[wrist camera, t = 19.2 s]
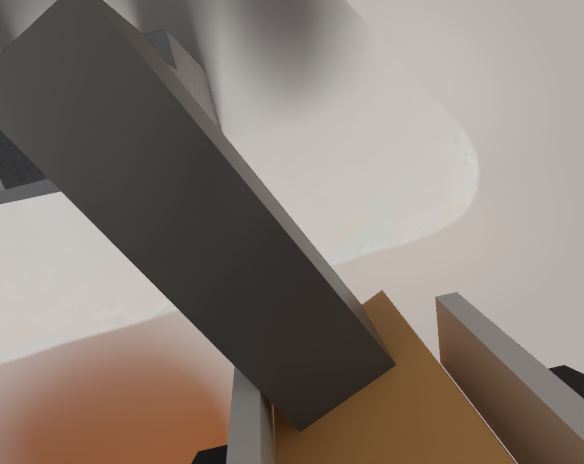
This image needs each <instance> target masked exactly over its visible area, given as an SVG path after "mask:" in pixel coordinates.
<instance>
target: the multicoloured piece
mask: <svg viewBox="0 0 584 464" xmlns="http://www.w3.org/2000/svg"><path fill="white" fill-rule="evenodd" d="M0 130H1V131H2V132H3V133H4V134H5V135H6V136H7V137H8V138H9V139H10V140H11V141H12V142H13V143H14V144H15V145H16V146H17V147H18V148H19V149H20V150H21V151H22V152H23V153H24V154H25V155H26V156H27V157H28V158H29V159H30V160H31V161H32V162H33V163H34V164H35V165H36V166H37V167H38V168H39V169H40V170H41V171H42V172H43V173H44V174H45V175H46V176H47V177H48V178H49V179H50V180H51V181H52V182H53V183H54V184H55V185H56V186H57V187H58V188H59V189H60V190H61V191H62V192H63V193H64V194H65V195H66V197H67V198H68V199H69V200H70V201H71V202H72V203H73V204H74V205H75V206H76V207H77V208H78V209H79V210H80V211H81V212H82V213H83V214H84V215H85V216H86V217H87V218H88V219H89V220H90V221H91V222H92V223H93V224H94V225H95V226H96V227H97V228H98V229H99V230H100V231H101V232H102V233H103V234H104V235H105V236H106V237H107V238H108V239H109V240H110V241H111V242H112V243H113V244H114V245H115V246H116V247H117V248H118V249H119V250H120V251H121V252H122V253H123V254H124V255H125V256H126V257H127V258H128V259H129V260H130V261H131V262H132V263H133V264H134V265H135V266H136V267H137V268H138V269H139V270H140V271H141V272H142V273H143V274H144V275H145V276H146V277H147V278H148V279H149V280H150V281H151V282H152V283H153V284H154V285H155V286H156V287H157V288H158V289H159V290H160V291H161V292H162V293H163V294H164V295H165V296H166V297H167V298H168V299H169V300H170V301H171V302H172V303H173V304H174V305H175V306H176V307H177V308H178V309H179V310H180V311H181V312H182V313H183V314H184V315H185V316H186V317H187V318H188V319H189V320H190V321H191V322H192V323H193V324H194V325H195V326H196V327H197V328H198V329H199V330H200V331H201V332H202V333H203V334H204V336H205V337H207V339H209V340H210V342H211V343H213V345H214V346H215V347H216V348H217V349H219V351H220V352H222V354H223V355H224V356H225V357H226V358H227V359H229V360H230V362H232V363H233V365H234V366H235V367H236V368H237V369H238V370H239V371H240V372H241V373H242V374H243V375H244V376H245V377H246V378H247V379H248V380H249V381H250V382H251V383H252V384H253V385H254V386H255V387H256V388H257V389H258V390H259V391H260V392H261V393H262V394H263V395H264V396H265V397H266V398H267V399H268V400H269V401H270V402H271V403H272V404H273V410H274V442H275V464H516V462H515V461H514V460H513V458H512V457H511V456H510V454H509V453H508V452H507V451H506V449H505V448H504V447H503V445H502V444H501V443H500V442H499V440H498V439H497V438H496V436H495V435H494V434H493V433H492V431H491V430H490V428H489V427H488V426H487V425H486V424H485V422H484V421H483V419H482V418H481V417H480V415H479V414H478V413H477V412H476V410H475V409H474V408H473V406H472V405H471V404H470V403H469V401H468V400H467V399H466V397H465V396H464V395H463V393H462V392H461V391H460V390H459V388H458V387H457V386H456V384H455V383H454V382H453V380H452V379H451V378H450V377H449V375H448V374H447V373H446V371H445V370H444V369H443V368H442V366H441V365H440V364H439V362H438V361H437V360H436V359H435V357H434V356H433V355H432V353H431V352H430V351H429V350H428V348H427V347H426V346H425V345H424V343H423V342H422V341H421V339H420V338H419V337H418V335H417V334H416V333H415V332H414V330H413V329H412V328H411V327H410V325H409V324H408V323H407V321H406V320H405V319H404V318H403V316H402V315H401V314H400V312H399V311H398V310H397V309H396V307H395V306H394V305H393V303H392V302H391V301H390V300H389V298H388V297H387V296H386V294H385V293H384V292H383V291H380V292H379V293H378V294H376V295H375V296H373V297H372V298H371V299H369V300H368V301H367V302H365V303H364V304H362V305H361V304H360V302H359V301H358V300H357V299H356V297H355V296H354V295H353V294H352V292H351V291H350V290H349V289H348V287H347V286H346V285H345V284H344V283H343V281H342V280H341V279H340V278H339V276H338V275H337V274H336V273H335V271H334V270H333V269H332V268H331V266H330V265H329V264H328V263H327V262H326V260H325V259H324V258H323V257H322V255H321V254H320V253H319V252H318V250H317V249H316V248H315V247H314V245H313V244H312V243H311V242H310V241H309V239H308V238H307V237H306V236H305V234H304V233H303V232H302V231H301V229H300V228H299V227H298V226H297V224H296V223H295V222H294V221H293V220H292V218H291V217H290V216H289V215H288V213H287V212H286V211H285V210H284V208H283V207H282V206H281V205H280V203H279V202H278V201H277V200H276V199H275V197H274V196H273V195H272V194H271V192H270V191H269V190H268V189H267V187H266V186H265V185H264V184H263V183H262V181H261V180H260V179H259V178H258V176H257V175H256V174H255V173H254V171H253V170H252V169H251V168H250V166H249V165H248V164H247V163H246V162H245V160H244V159H243V158H242V157H241V155H240V154H239V153H238V152H237V150H236V149H235V148H234V147H233V145H232V144H231V143H230V142H229V141H228V139H227V138H226V137H225V136H224V134H223V133H222V132H221V131H220V129H219V128H218V127H217V126H216V124H215V123H214V122H213V121H212V120H211V118H210V117H209V116H208V115H207V113H206V112H205V111H204V110H203V108H202V107H201V106H200V105H199V103H198V102H197V101H196V100H195V99H194V97H193V96H192V95H191V94H190V92H189V91H188V90H187V89H186V87H185V86H184V85H183V84H182V82H181V81H180V80H179V79H178V78H177V76H176V75H175V74H174V73H173V71H172V70H171V69H170V68H169V66H168V65H167V64H166V63H165V61H164V60H163V59H162V58H161V57H160V55H159V54H158V53H157V52H156V50H155V49H154V48H153V47H152V45H151V44H150V43H149V42H148V40H147V39H146V38H145V37H144V36H143V34H142V33H141V32H140V31H139V30H138V29H136V28H135V27H134V26H133V25H132V24H130V23H129V22H128V21H127V20H126V19H124V18H123V17H122V16H121V15H120V14H119V13H117V12H116V11H115V10H114V9H113V8H111V7H110V6H109V5H108V4H107V3H105V2H104V1H103V0H57V1H56V2H55V3H54V4H53V5H52V6H51V7H50V8H49V9H48V10H47V11H45V12H44V13H43V14H42V15H41V16H40V17H39V18H38V19H37V20H36V21H35V22H34V23H33V24H32V25H31V26H30V27H28V28H27V29H26V30H25V31H24V32H23V33H22V34H21V35H20V36H19V37H18V38H17V39H16V40H15V41H14V42H13V43H11V44H10V45H9V46H8V47H7V48H6V49H5V50H4V51H3V52H2V53H1V54H0Z"/></svg>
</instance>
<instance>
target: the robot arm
mask: <svg viewBox="0 0 584 464" xmlns="http://www.w3.org/2000/svg"><path fill="white" fill-rule="evenodd" d="M435 298H436V311H437V323H438V336H439V349H440V362H441V364H442V365H443V367H444V368H445V369H446V370H447V372H448V373H449V374H450V376H451V377H452V378H453V380H454V381H455V382H456V383H457V385H458V386H459V387H460V389H461V390H462V391H463V393H464V394H465V395H466V396H467V398H468V399H469V400H470V402H471V403H472V404H473V405H474V407H475V408H476V409H477V411H478V412H479V413H480V415H481V416H482V417H483V419H484V420H485V421H486V422H487V424H488V425H489V426H490V428H491V429H492V430H493V431H494V433H495V434H496V435H497V437H498V438H499V439H500V440H501V442H502V443H503V445H504V446H505V447H506V448H507V450H508V451H509V452H510V454H511V455H512V456H513V457H514V459H515V460H516V461H517V463H518V464H584V374H582V373H580V372H578V371H576V370H574V369H572V368H570V367H567V366H565V365H562V366H558V367H554V368H550V369H547V368H546V367H545V366H544V365H543V364H541V363H540V362H539V361H538V360H537V359H535V358H534V357H533V356H532V355H531V354H530V353H528V352H527V351H526V350H525V349H524V348H523V347H521V346H520V345H519V344H518V343H516V342H515V341H514V340H513V339H512V338H511V337H509V336H508V335H507V334H506V333H505V332H503V331H502V330H501V329H500V328H499V327H498V326H496V325H495V324H494V323H493V322H492V321H490V320H489V319H488V318H487V317H486V316H484V315H483V314H482V313H481V312H480V311H479V310H477V309H476V308H475V307H474V306H473V305H471V304H470V303H469V302H468V301H466V300H465V299H464V298H463V297H462V296H461V295H459V294H458V293H457V292H455V293H451V294H446V295H442V296H437V297H435ZM192 464H275V442H274V410H273V404H272V403H271V402H270V401H269V400H268V399H267V398H266V397H265V396H264V395H263V394H262V393H261V392H260V391H259V390H258V389H257V388H256V387H255V386H254V385H253V384H252V383H251V382H250V381H249V380H248V379H247V378H246V377H245V376H244V375H243V374H242V373H241V372H240V371H239V370H238V369H237V368H236V367H235V369H234V381H233V391H232V403H231V414H230V425H229V438H228V445H224V446H220V447H216V448H212V449H207V450H203V451H199V452H198V453H197V455H196V456H195V458H194V460H193V462H192Z"/></svg>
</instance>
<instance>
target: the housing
mask: <svg viewBox="0 0 584 464" xmlns="http://www.w3.org/2000/svg"><path fill="white" fill-rule="evenodd" d="M143 36H144V37H145V38H146V39H147V40H148V42H149V43H150V44H151V45H152V47H153V48H154V49H155V50H156V52H157V53H158V54H159V55H160V57H161V58H162V59H163V60H164V61H165V63H166V64H167V65H168V66H169V68H170V69H171V70H172V71H173V73H174V74H175V75H176V76H177V78H178V79H179V80H180V81H181V82H182V84H183V85H184V86H185V87H186V89H187V90H188V91H189V92H190V94H191V95H192V96H193V97H194V99H195V100H196V101H197V102H198V103H199V105H200V106H201V107H202V108H203V110H204V111H205V112H206V113H207V115H208V116H209V117H210V118H211V120H212V121H213V122H214V123H215V124H216V126H217V127H218V128H219V129H220V127H219V123H218V119H217V115H216V111H215V107H214V103H213V99H212V95H211V91H210V87H209V83H208V79H207V75H206V71H205V70H204V69H203V68H202V67H201V66H200V65H199V64H198V63H197V62H196V61H195V59H194V58H193V57H192V56H191V55H190V54H189V53H188V52H187V51H186V50H185V49H184V48H183V47H182V46H181V45H180V44H179V43H178V42H177V41H176V39H175V38H174V37H173V36H172V35H171V34H170V33H169V32H168V31H167V30H162V31H157V32H152V33H147V34H143ZM60 191H61V190H60V189H59V188H58V187H57V186H56V185H55V184H54V183H53V182H52V181H51V180H50V179H49V178H48V177H47V176H46V175H45V174H44V173H43V172H42V171H41V170H40V169H39V168H38V167H37V166H36V165H35V164H34V163H33V162H32V161H31V160H30V159H29V158H28V157H27V156H26V155H25V154H24V153H23V152H22V151H21V150H20V149H19V148H18V147H17V146H16V145H15V144H14V143H13V142H12V141H11V140H10V139H9V138H8V137H7V136H6V135H5V134H4V133H3V132H2V131H1V130H0V204H3V203H8V202H13V201H17V200H22V199H27V198H32V197H36V196H41V195H46V194H51V193H56V192H60Z"/></svg>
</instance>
